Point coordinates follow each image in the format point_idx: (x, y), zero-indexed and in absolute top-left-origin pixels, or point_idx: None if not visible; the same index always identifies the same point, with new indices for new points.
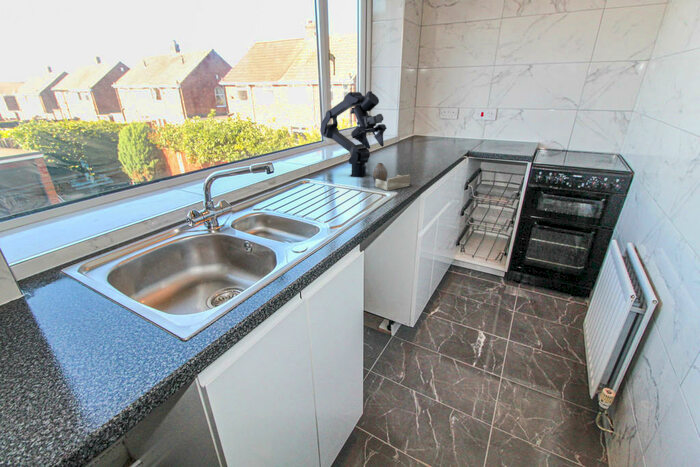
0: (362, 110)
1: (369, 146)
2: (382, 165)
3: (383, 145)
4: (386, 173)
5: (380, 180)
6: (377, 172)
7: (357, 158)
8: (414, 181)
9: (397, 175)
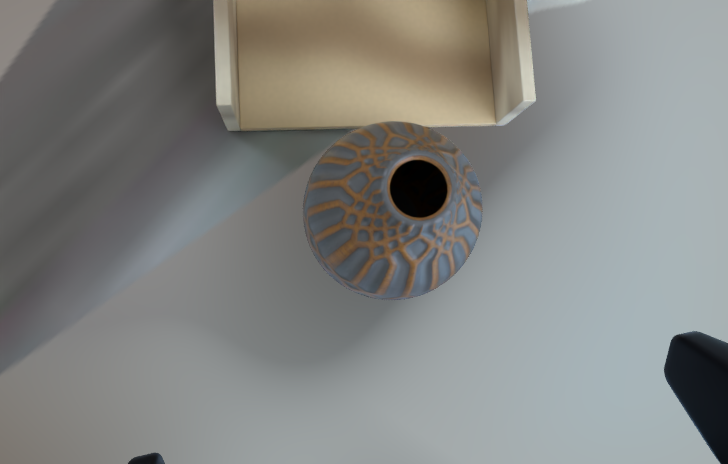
0: None
1: (725, 348)
2: (410, 146)
3: (143, 455)
4: (361, 127)
5: (528, 25)
6: (470, 164)
7: None
8: (58, 38)
9: (232, 84)
